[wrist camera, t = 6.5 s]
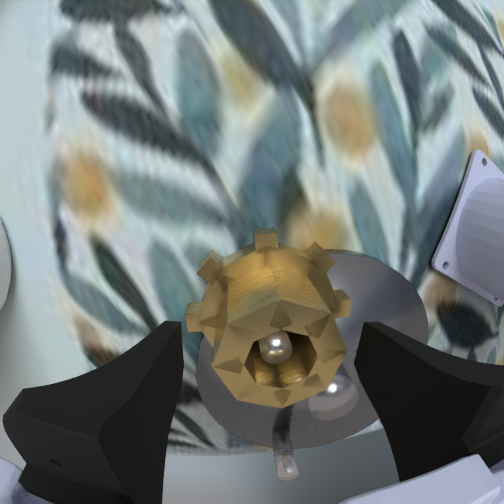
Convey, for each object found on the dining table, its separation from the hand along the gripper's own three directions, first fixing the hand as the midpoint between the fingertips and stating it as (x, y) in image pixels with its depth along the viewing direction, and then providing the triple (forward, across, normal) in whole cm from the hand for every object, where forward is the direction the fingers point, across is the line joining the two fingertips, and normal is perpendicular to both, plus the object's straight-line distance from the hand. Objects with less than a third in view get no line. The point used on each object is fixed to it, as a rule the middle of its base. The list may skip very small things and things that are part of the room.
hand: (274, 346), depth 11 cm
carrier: (+4, -4, +4) cm, 7 cm away
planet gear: (+3, 0, 0) cm, 3 cm away
